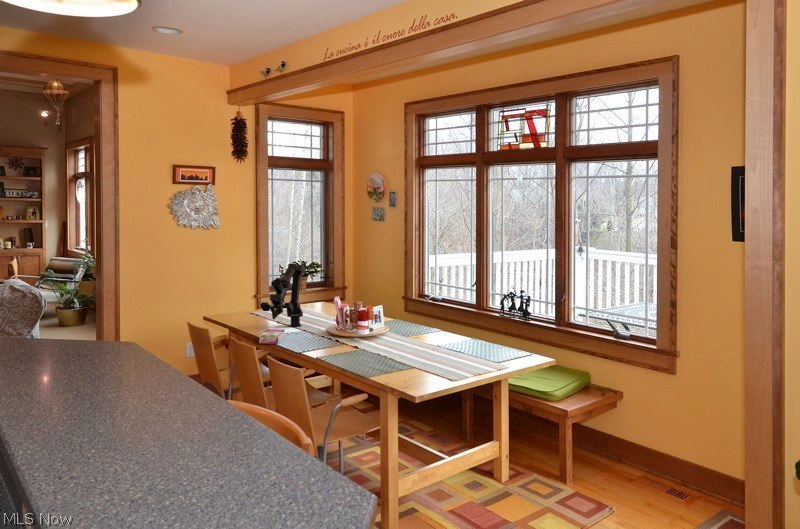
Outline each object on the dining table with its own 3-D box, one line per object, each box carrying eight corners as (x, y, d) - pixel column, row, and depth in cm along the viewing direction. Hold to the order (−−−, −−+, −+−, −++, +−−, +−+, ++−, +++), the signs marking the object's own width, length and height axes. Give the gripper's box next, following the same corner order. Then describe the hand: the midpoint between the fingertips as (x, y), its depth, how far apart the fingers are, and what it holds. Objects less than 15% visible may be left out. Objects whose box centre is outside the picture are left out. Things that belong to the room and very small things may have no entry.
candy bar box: (267, 337, 377) (258, 343, 361) (266, 329, 377) (258, 335, 360) (285, 337, 376) (277, 344, 360) (285, 329, 375) (277, 335, 359)
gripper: (260, 288, 377) (253, 310, 368) (290, 289, 374) (284, 311, 364) (266, 299, 386) (259, 321, 377) (296, 300, 382) (290, 322, 373)
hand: (273, 318), depth 372 cm, fingers closed
